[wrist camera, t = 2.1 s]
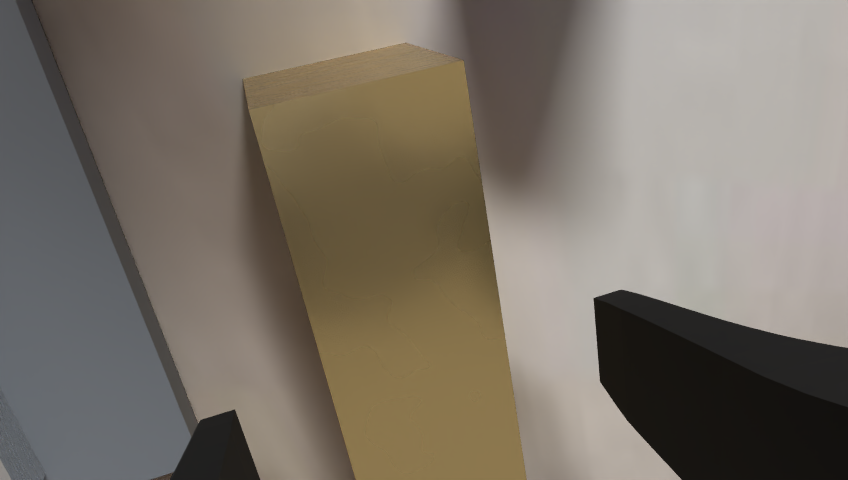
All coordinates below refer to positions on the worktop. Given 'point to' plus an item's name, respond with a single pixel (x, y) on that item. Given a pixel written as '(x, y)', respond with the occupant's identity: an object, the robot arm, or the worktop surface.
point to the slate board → (73, 289)
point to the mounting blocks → (16, 448)
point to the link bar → (394, 259)
